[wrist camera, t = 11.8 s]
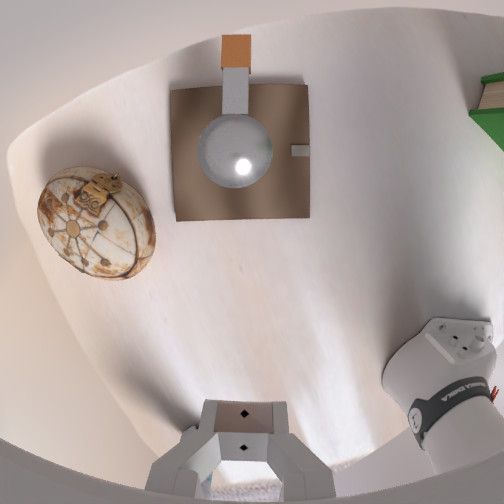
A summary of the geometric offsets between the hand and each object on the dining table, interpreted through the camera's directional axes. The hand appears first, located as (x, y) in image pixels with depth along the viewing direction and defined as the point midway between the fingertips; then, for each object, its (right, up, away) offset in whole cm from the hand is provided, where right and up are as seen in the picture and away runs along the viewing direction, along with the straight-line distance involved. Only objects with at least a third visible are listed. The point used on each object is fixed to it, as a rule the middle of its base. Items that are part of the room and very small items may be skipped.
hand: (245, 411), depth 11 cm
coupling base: (-1, +17, +23) cm, 28 cm away
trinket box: (-18, +10, +26) cm, 33 cm away
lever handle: (-1, +18, +16) cm, 24 cm away
